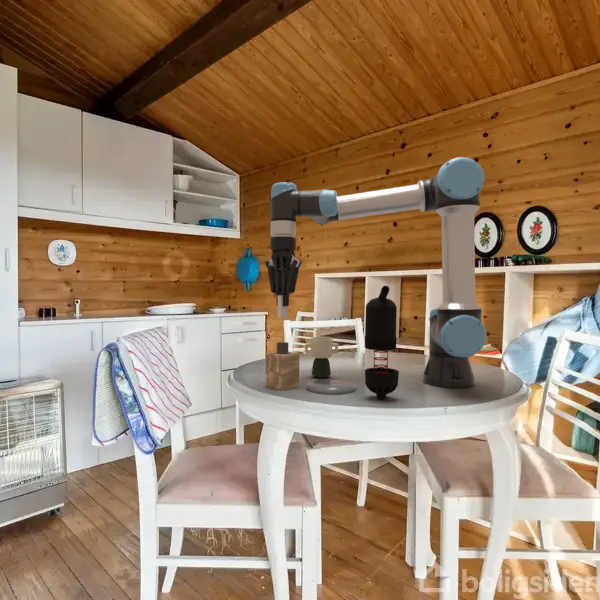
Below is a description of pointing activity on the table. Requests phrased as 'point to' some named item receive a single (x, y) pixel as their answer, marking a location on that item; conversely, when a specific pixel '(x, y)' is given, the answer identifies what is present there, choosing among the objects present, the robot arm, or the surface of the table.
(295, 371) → the block
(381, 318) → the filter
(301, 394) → the table surface
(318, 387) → the coaster
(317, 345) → the character mug
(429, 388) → the table surface
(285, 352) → the dark grey tall cylinder
